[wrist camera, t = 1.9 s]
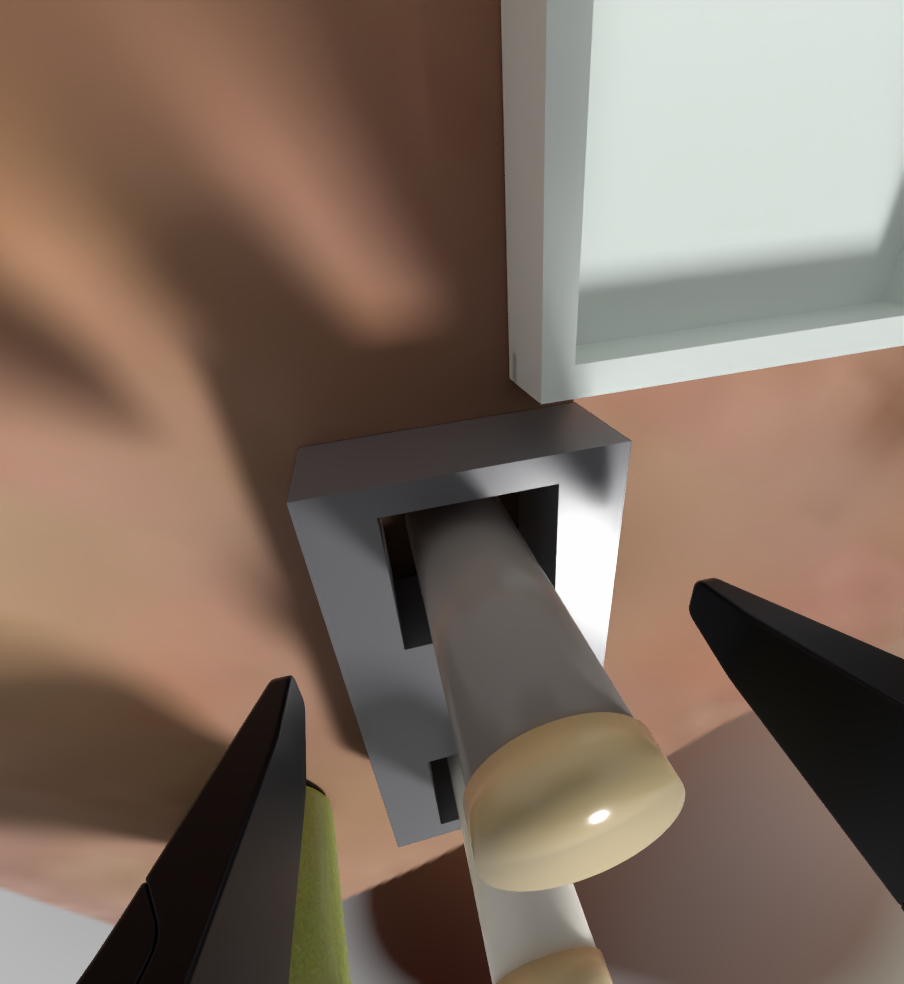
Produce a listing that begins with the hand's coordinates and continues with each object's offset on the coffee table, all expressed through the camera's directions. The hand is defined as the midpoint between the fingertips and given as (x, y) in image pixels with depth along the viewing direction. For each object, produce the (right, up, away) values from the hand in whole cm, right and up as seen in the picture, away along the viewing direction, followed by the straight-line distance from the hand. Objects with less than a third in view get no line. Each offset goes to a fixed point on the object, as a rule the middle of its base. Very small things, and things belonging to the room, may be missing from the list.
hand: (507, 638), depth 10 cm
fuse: (0, -6, +9) cm, 11 cm away
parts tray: (+6, +12, +1) cm, 13 cm away
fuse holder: (-1, -2, +7) cm, 7 cm away
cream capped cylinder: (-1, +3, +4) cm, 5 cm away
